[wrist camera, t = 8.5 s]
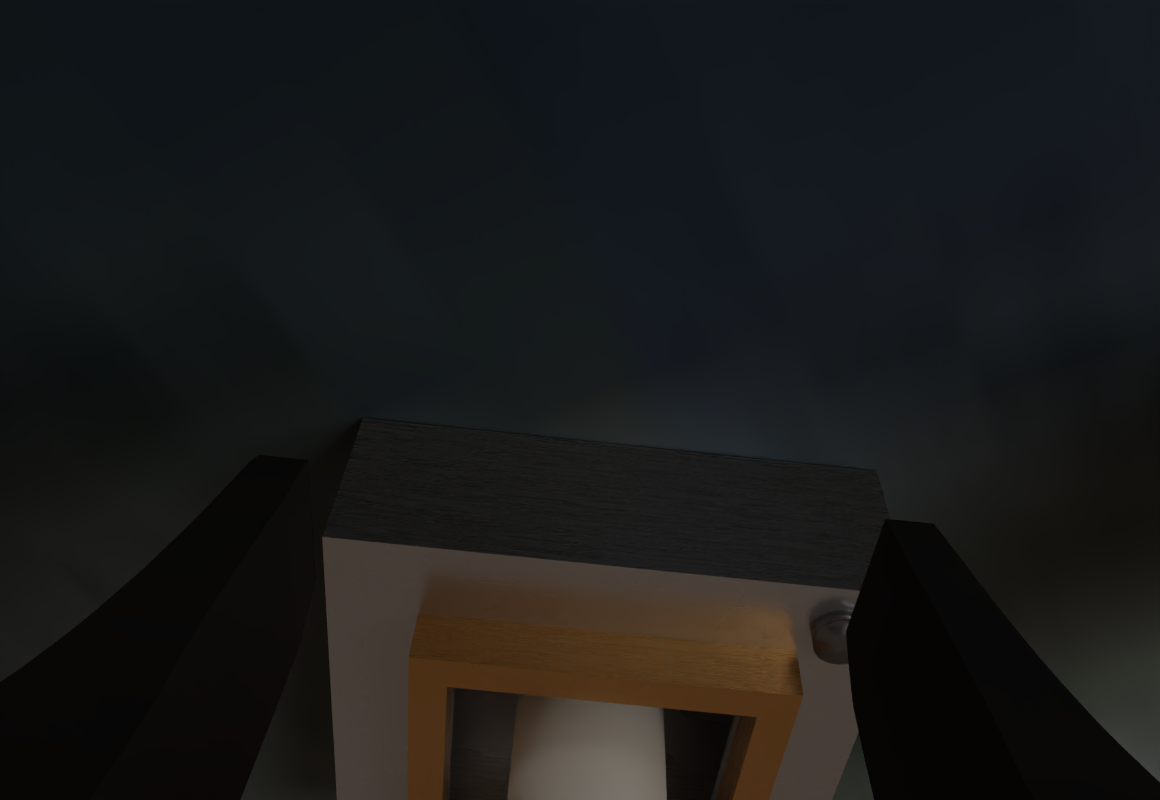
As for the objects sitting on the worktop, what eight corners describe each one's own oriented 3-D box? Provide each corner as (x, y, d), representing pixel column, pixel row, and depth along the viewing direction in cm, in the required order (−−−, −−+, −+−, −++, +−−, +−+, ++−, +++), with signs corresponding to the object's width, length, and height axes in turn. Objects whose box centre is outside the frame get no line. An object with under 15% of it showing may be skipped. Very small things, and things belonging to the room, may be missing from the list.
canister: (689, 634, 28) (704, 869, 23) (602, 704, 30) (598, 938, 25) (573, 566, 27) (561, 797, 22) (490, 642, 29) (459, 875, 23)
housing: (876, 471, 25) (924, 641, 21) (773, 780, 32) (794, 954, 28) (362, 418, 25) (307, 579, 21) (370, 742, 32) (330, 912, 28)
